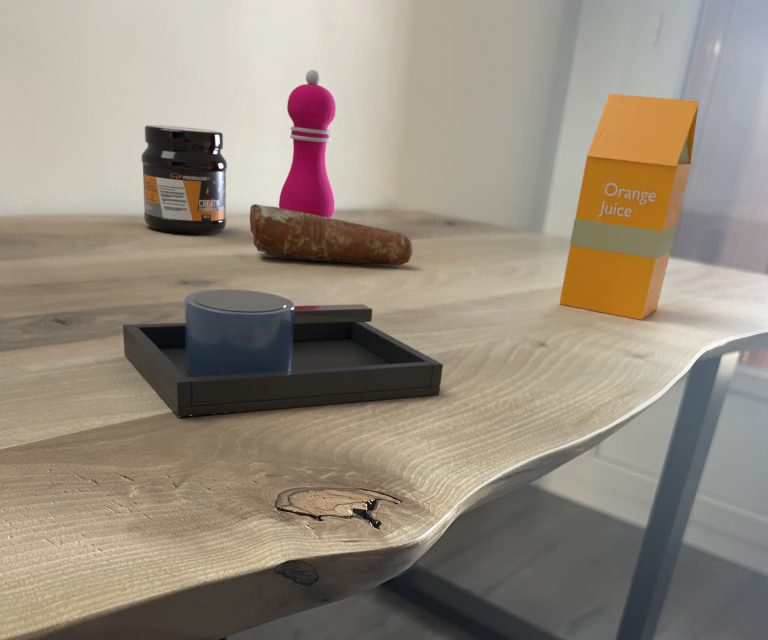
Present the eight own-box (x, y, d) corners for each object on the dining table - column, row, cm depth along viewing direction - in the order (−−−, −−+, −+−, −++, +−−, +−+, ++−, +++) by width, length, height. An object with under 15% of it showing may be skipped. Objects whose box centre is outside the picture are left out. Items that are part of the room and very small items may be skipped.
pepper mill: (319, 247, 104) (329, 70, 95) (268, 239, 106) (273, 65, 97) (340, 241, 110) (351, 74, 102) (291, 233, 112) (298, 69, 103)
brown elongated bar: (249, 250, 97) (250, 200, 94) (407, 263, 100) (412, 215, 97) (247, 259, 91) (248, 207, 89) (414, 273, 94) (420, 222, 92)
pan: (204, 388, 49) (204, 315, 47) (172, 356, 54) (171, 289, 52) (386, 375, 55) (393, 309, 53) (342, 347, 60) (346, 286, 58)
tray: (177, 418, 46) (177, 382, 45) (124, 355, 56) (122, 324, 55) (439, 394, 54) (443, 364, 53) (353, 343, 64) (355, 316, 63)
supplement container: (168, 236, 100) (165, 129, 95) (129, 223, 107) (125, 122, 102) (241, 235, 107) (243, 134, 102) (201, 222, 114) (200, 127, 108)
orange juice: (579, 294, 92) (618, 96, 83) (657, 308, 88) (707, 103, 80) (558, 304, 86) (597, 90, 77) (642, 320, 82) (693, 99, 73)
